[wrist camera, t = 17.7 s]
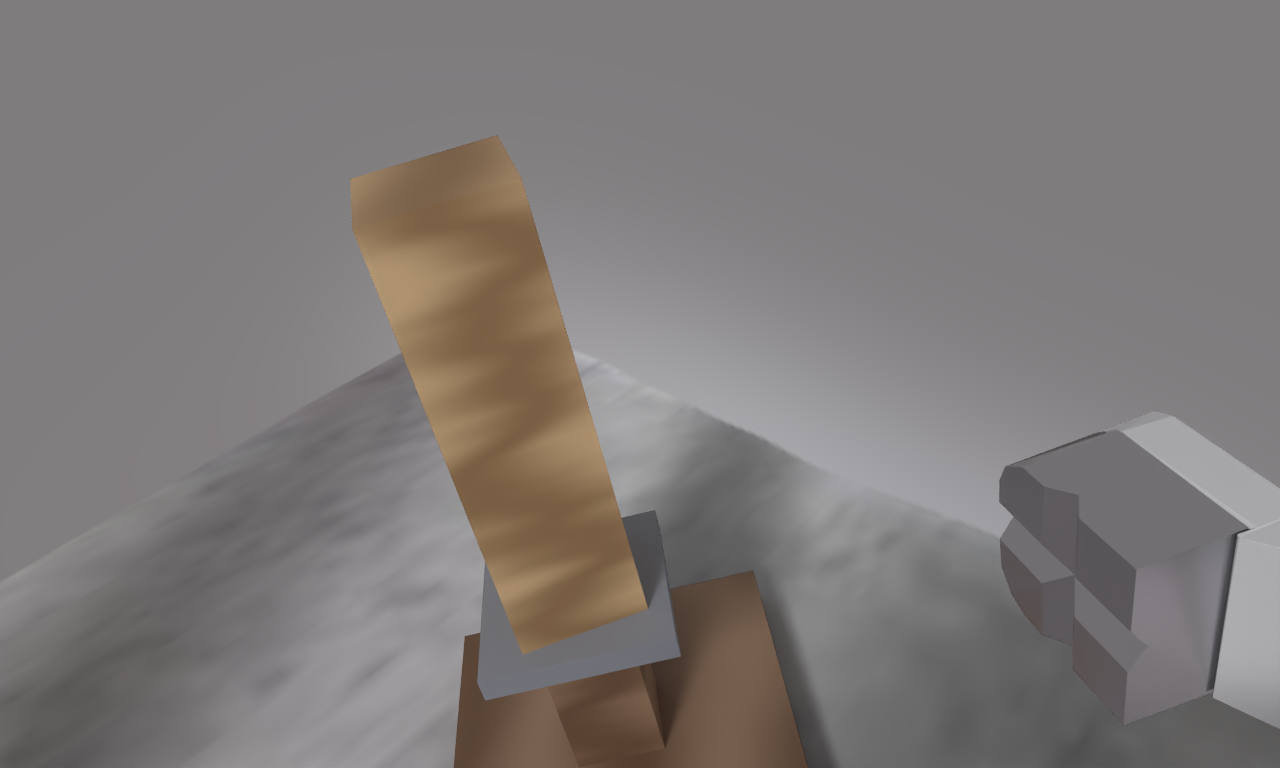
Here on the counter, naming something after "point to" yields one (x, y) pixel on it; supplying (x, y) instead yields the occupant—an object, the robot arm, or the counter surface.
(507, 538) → the wooden rod
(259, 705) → the counter surface
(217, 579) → the counter surface
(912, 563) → the counter surface
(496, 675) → the pedestal
